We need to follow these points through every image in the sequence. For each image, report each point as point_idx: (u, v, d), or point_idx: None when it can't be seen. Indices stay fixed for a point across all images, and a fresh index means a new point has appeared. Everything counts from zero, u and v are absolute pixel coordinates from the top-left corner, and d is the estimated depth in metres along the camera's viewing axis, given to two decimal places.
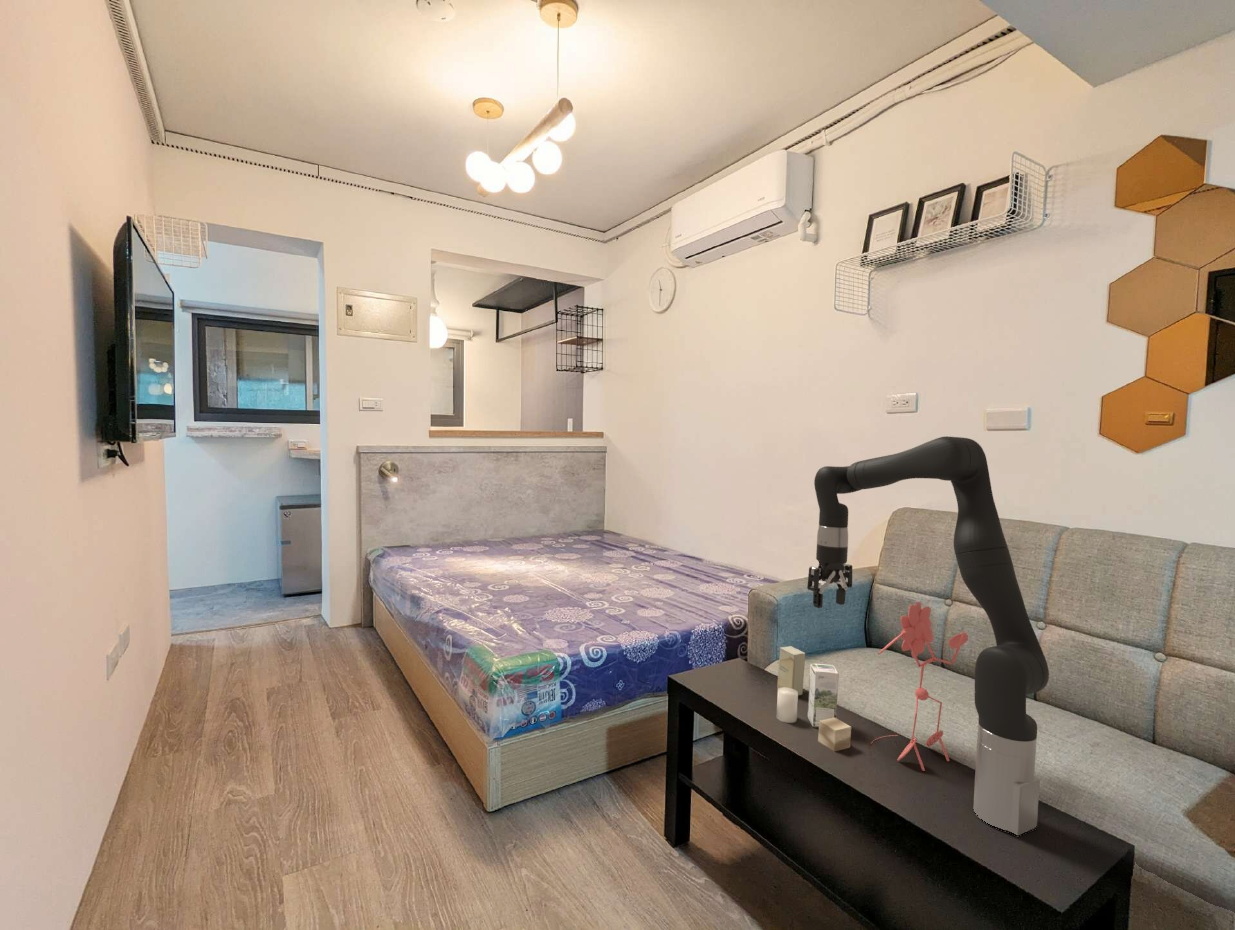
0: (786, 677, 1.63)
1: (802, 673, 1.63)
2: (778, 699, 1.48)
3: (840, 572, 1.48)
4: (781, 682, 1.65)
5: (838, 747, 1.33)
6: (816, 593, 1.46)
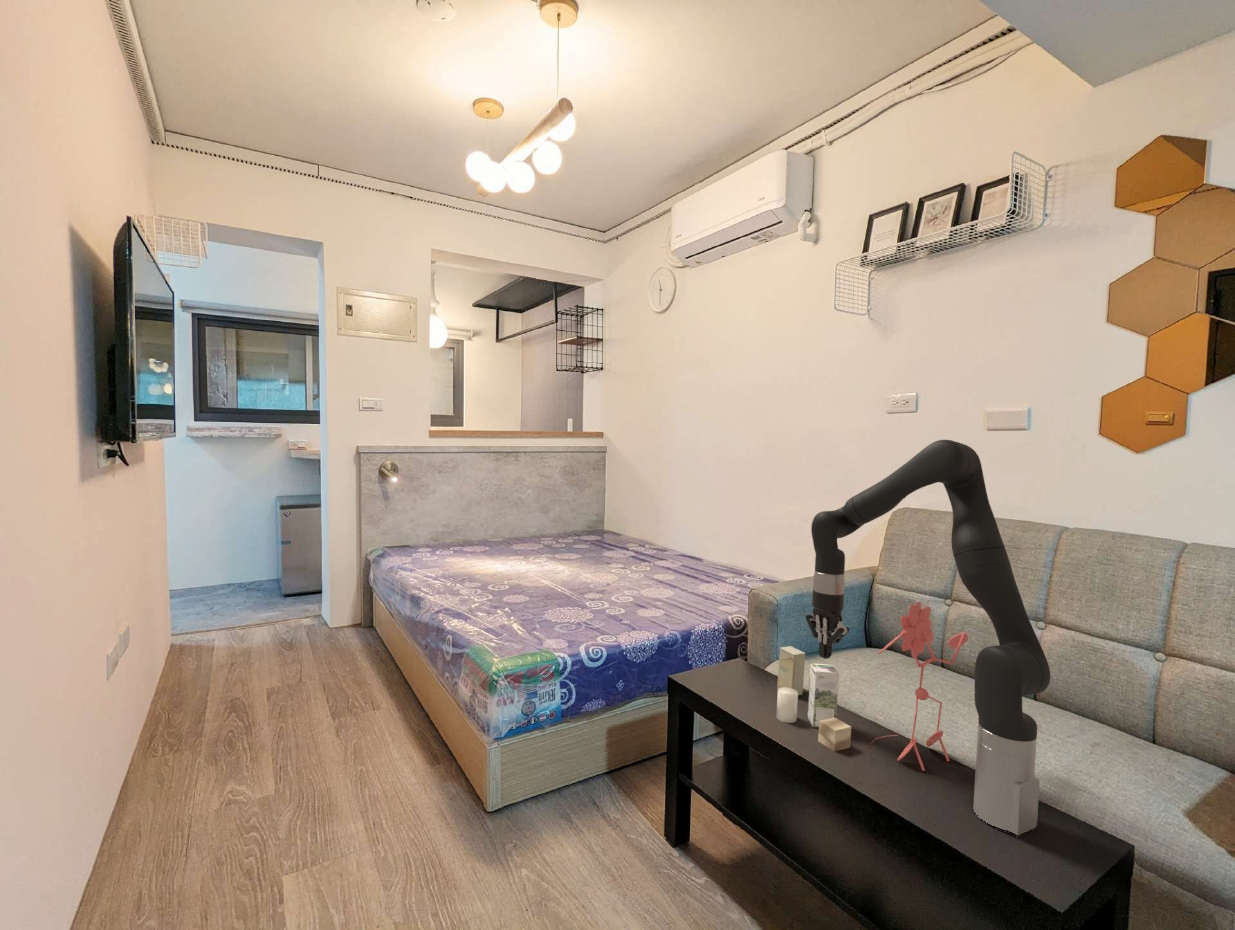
0: (786, 677, 1.63)
1: (802, 673, 1.63)
2: (778, 699, 1.48)
3: None
4: (781, 682, 1.65)
5: (838, 747, 1.33)
6: (831, 644, 1.44)
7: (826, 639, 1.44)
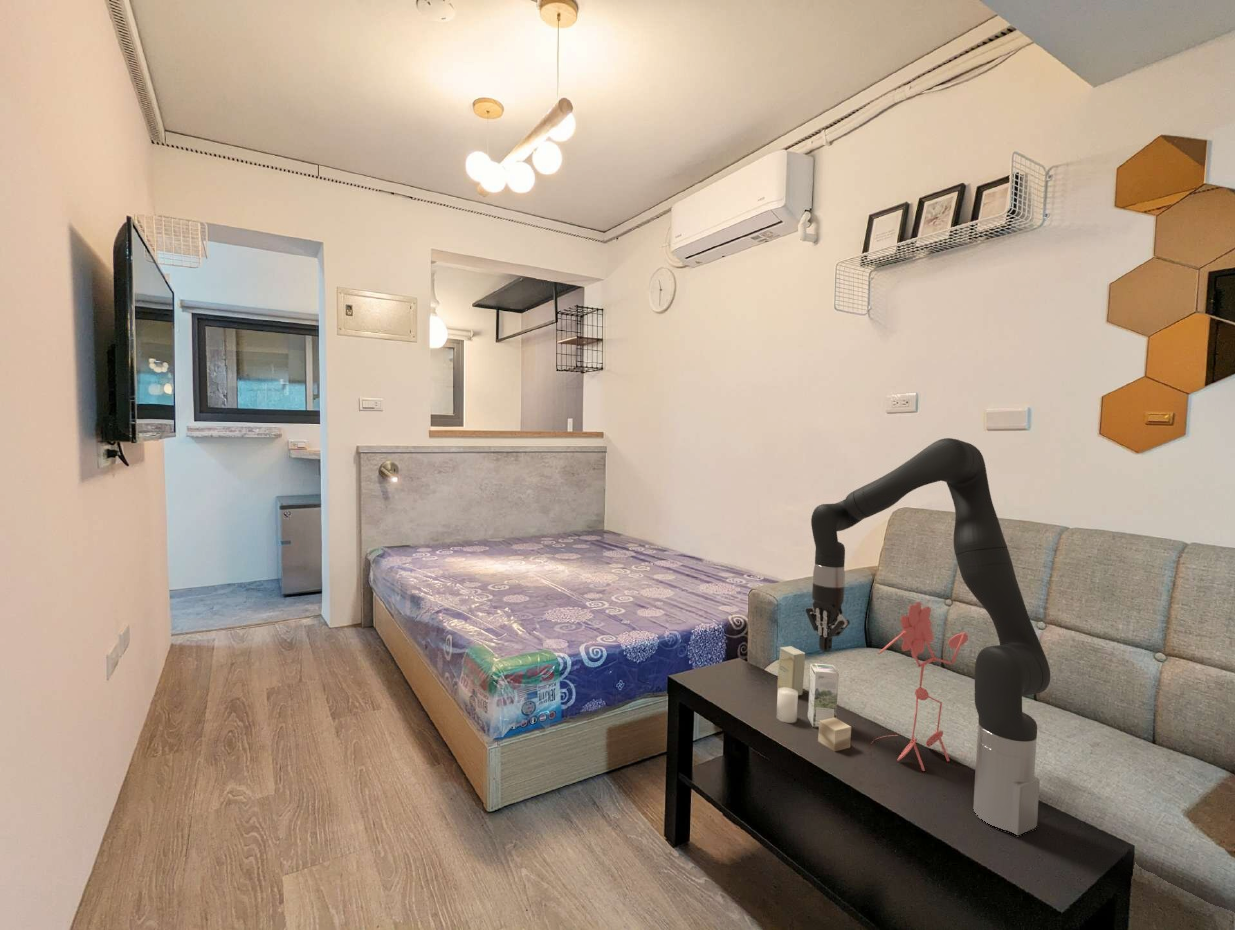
0: (786, 677, 1.63)
1: (802, 673, 1.63)
2: (778, 699, 1.48)
3: None
4: (781, 682, 1.65)
5: (838, 747, 1.33)
6: (831, 637, 1.44)
7: (826, 632, 1.44)
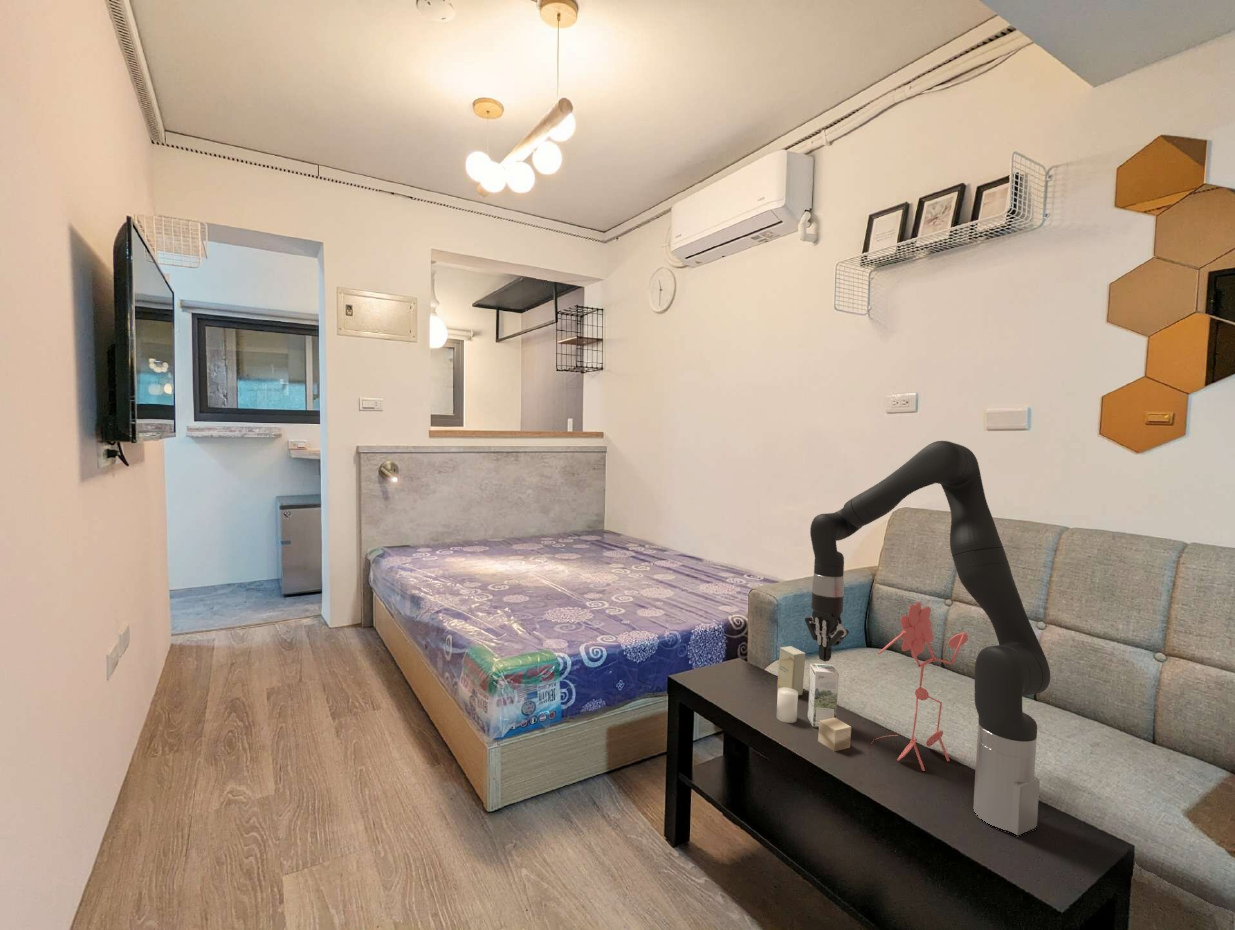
0: (786, 677, 1.63)
1: (802, 673, 1.63)
2: (778, 699, 1.48)
3: None
4: (781, 682, 1.65)
5: (838, 747, 1.33)
6: (830, 647, 1.44)
7: (826, 642, 1.44)
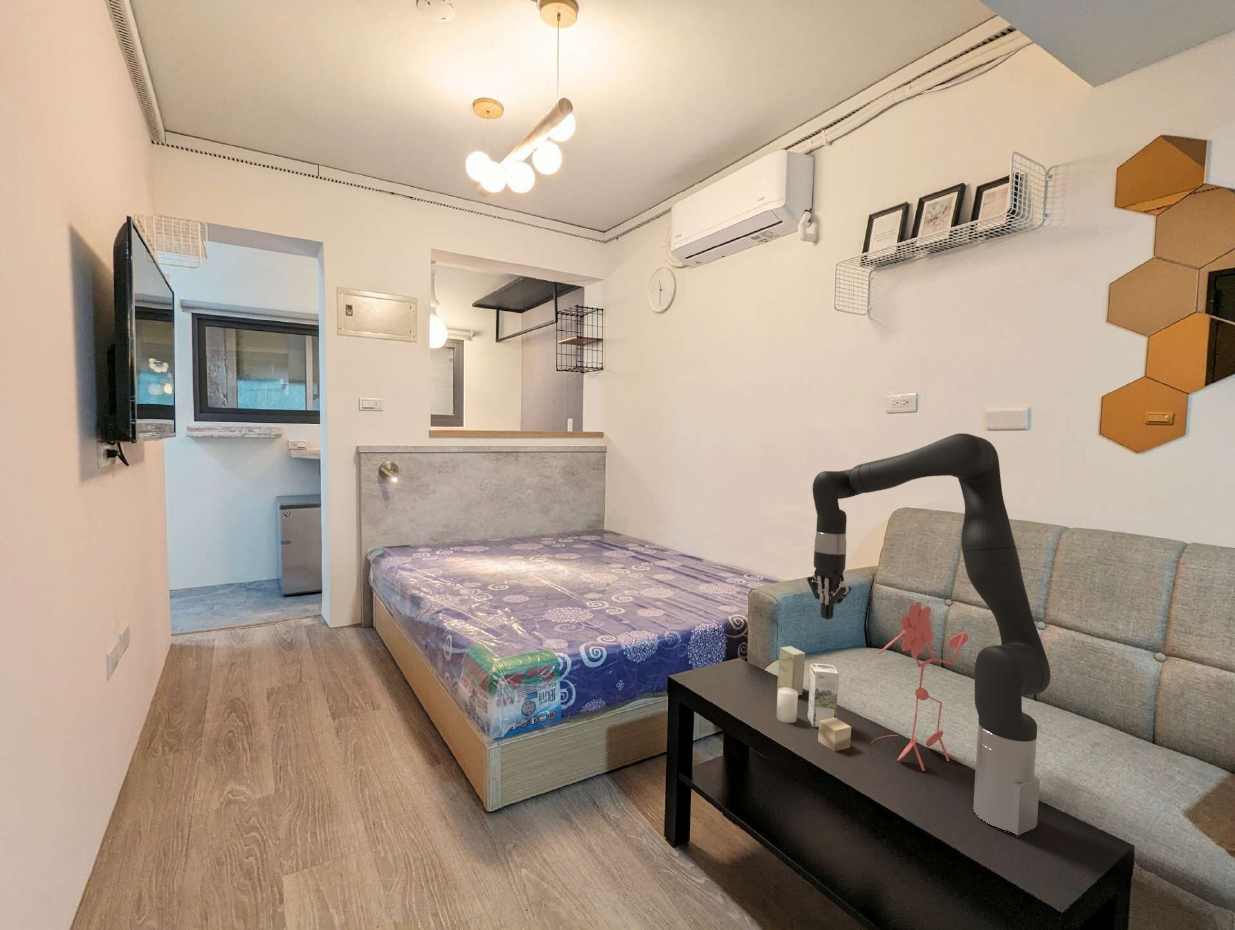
0: (786, 677, 1.63)
1: (802, 673, 1.63)
2: (778, 699, 1.48)
3: None
4: (781, 682, 1.65)
5: (838, 747, 1.33)
6: (833, 605, 1.44)
7: (828, 599, 1.43)
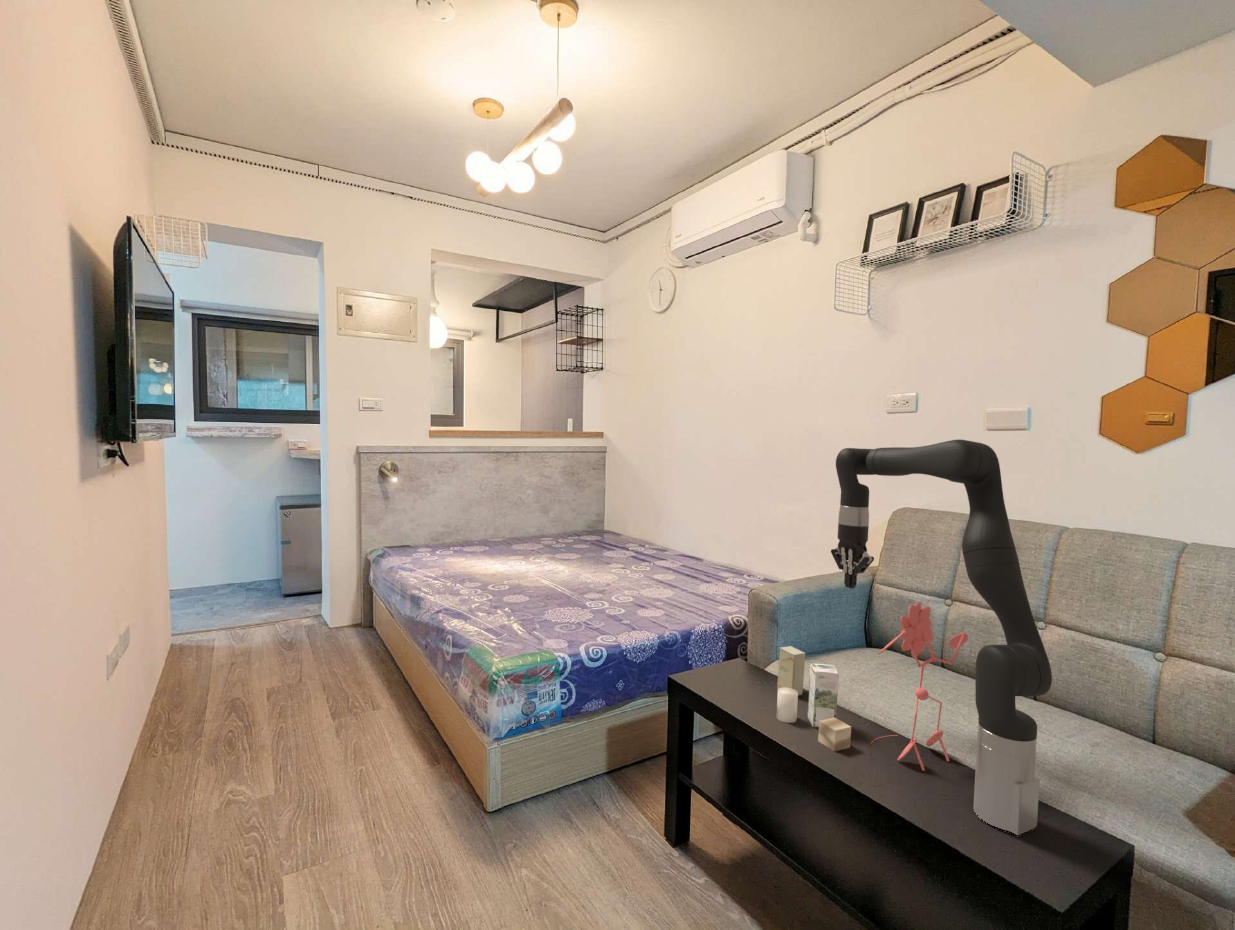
0: (786, 677, 1.63)
1: (802, 673, 1.63)
2: (778, 699, 1.48)
3: None
4: (781, 682, 1.65)
5: (838, 747, 1.33)
6: (856, 574, 1.52)
7: (851, 569, 1.52)
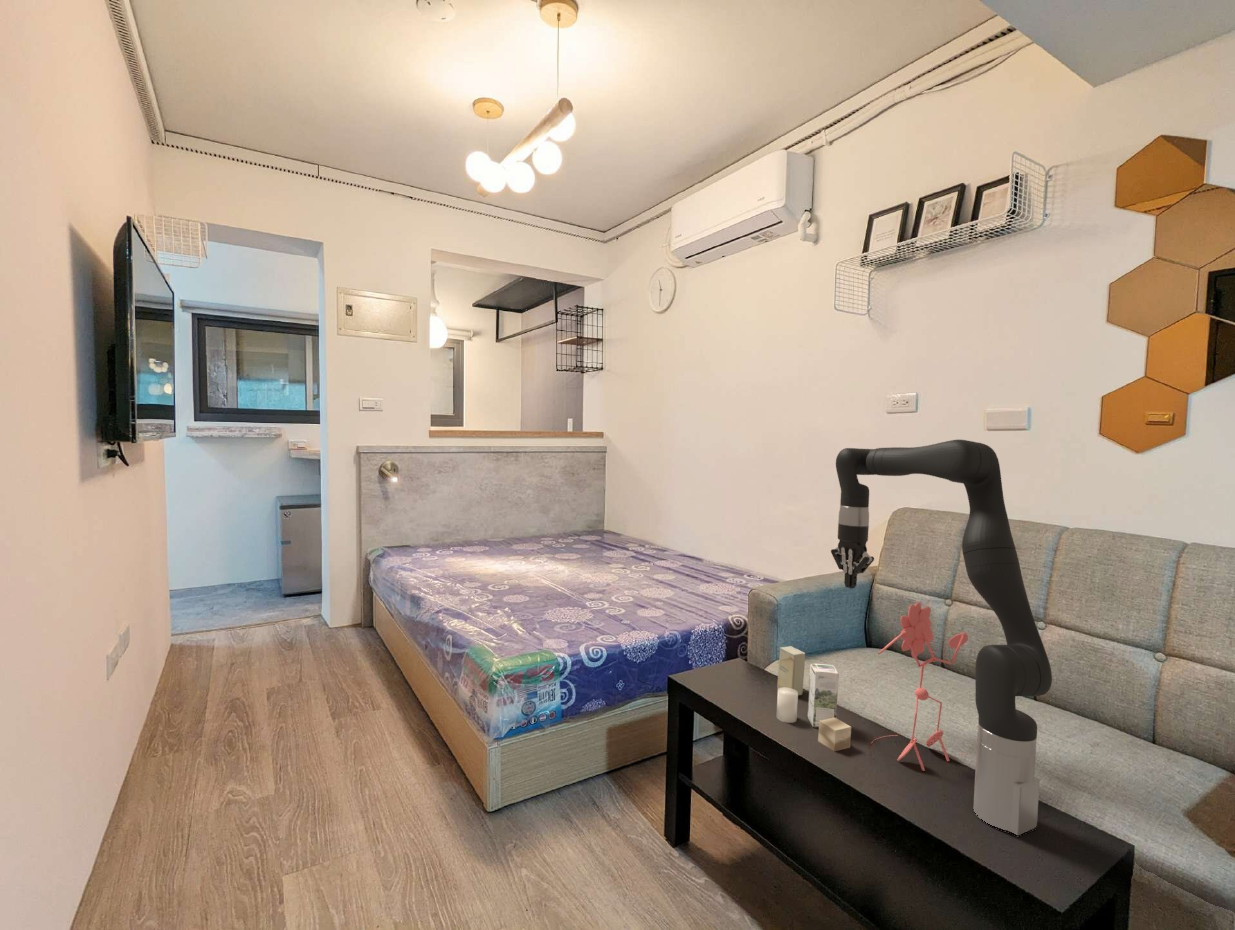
0: (786, 677, 1.63)
1: (802, 673, 1.63)
2: (778, 699, 1.48)
3: None
4: (781, 682, 1.65)
5: (838, 747, 1.33)
6: (856, 574, 1.52)
7: (851, 569, 1.52)
